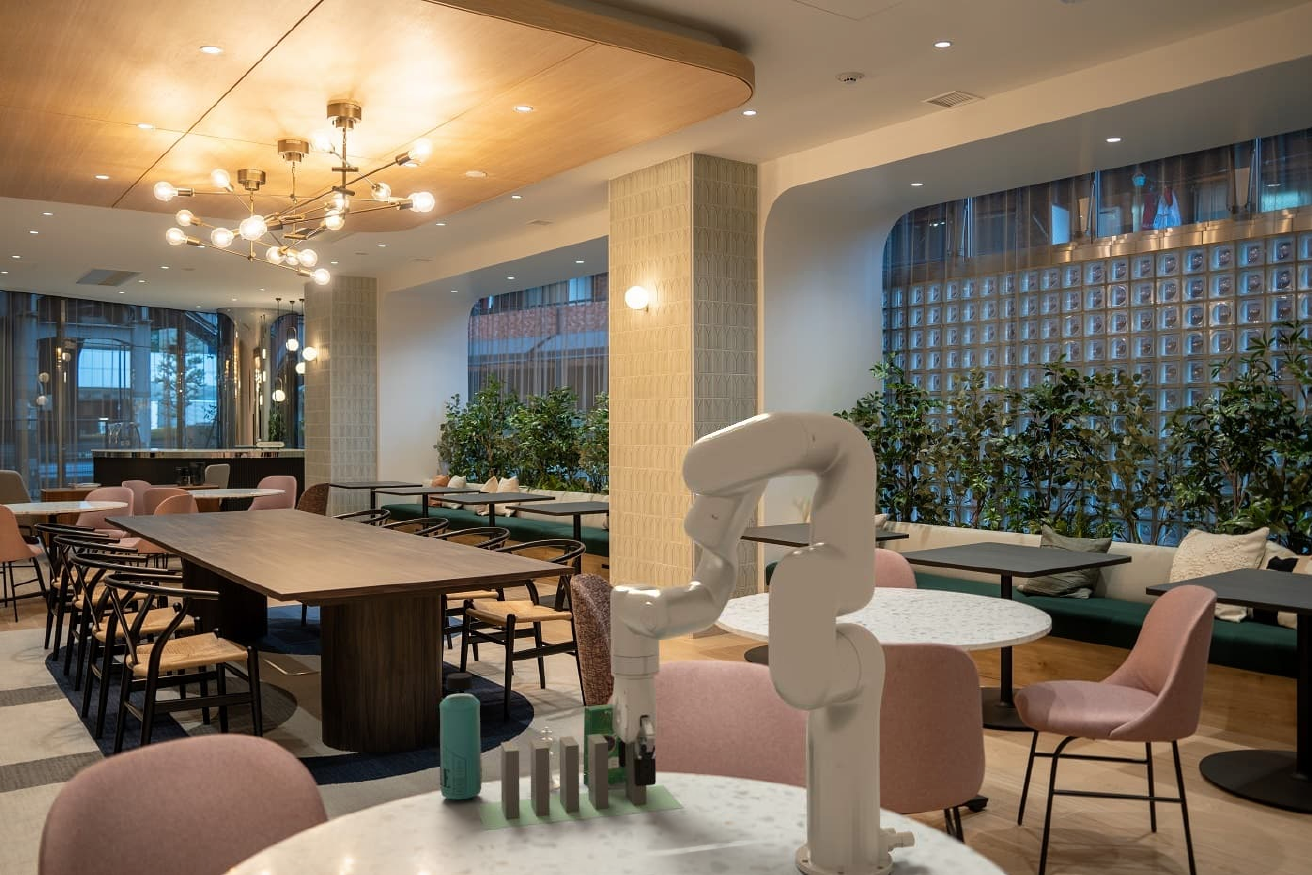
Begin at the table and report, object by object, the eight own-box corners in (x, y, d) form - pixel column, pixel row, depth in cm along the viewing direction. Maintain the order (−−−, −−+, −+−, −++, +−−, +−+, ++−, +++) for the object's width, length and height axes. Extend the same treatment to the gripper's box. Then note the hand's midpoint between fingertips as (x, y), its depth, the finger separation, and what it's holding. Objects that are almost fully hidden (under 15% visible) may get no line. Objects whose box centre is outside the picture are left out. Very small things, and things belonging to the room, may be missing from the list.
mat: (663, 788, 167) (663, 785, 167) (683, 811, 157) (683, 807, 157) (476, 808, 159) (476, 804, 159) (484, 833, 149) (484, 829, 149)
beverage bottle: (490, 799, 163) (489, 672, 163) (461, 812, 157) (460, 680, 158) (459, 792, 167) (459, 668, 167) (430, 804, 161) (429, 675, 161)
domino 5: (638, 794, 163) (637, 730, 163) (646, 804, 158) (645, 739, 158) (625, 795, 163) (625, 731, 163) (633, 805, 158) (633, 740, 158)
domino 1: (514, 807, 158) (514, 741, 158) (519, 818, 153) (519, 750, 153) (501, 808, 157) (501, 742, 157) (506, 819, 152) (505, 751, 153)
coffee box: (626, 778, 173) (625, 699, 173) (634, 783, 170) (633, 703, 170) (582, 786, 169) (582, 706, 169) (590, 791, 166) (589, 709, 166)
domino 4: (601, 797, 162) (600, 733, 162) (608, 808, 157) (607, 742, 157) (588, 799, 161) (588, 734, 161) (595, 810, 156) (595, 743, 156)
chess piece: (557, 795, 165) (556, 732, 165) (527, 793, 166) (527, 730, 166) (566, 785, 170) (565, 724, 170) (537, 783, 171) (536, 722, 171)
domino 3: (572, 800, 160) (572, 736, 160) (579, 811, 155) (578, 745, 156) (559, 802, 160) (559, 737, 160) (566, 813, 155) (565, 746, 155)
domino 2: (543, 803, 159) (543, 738, 159) (549, 814, 154) (549, 747, 154) (530, 805, 158) (530, 739, 159) (536, 816, 154) (535, 748, 154)
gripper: (599, 655, 168) (600, 761, 168) (625, 677, 151) (627, 795, 151) (643, 652, 170) (645, 757, 170) (674, 674, 153) (676, 790, 153)
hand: (636, 775), depth 160 cm, fingers open, 9 cm apart
